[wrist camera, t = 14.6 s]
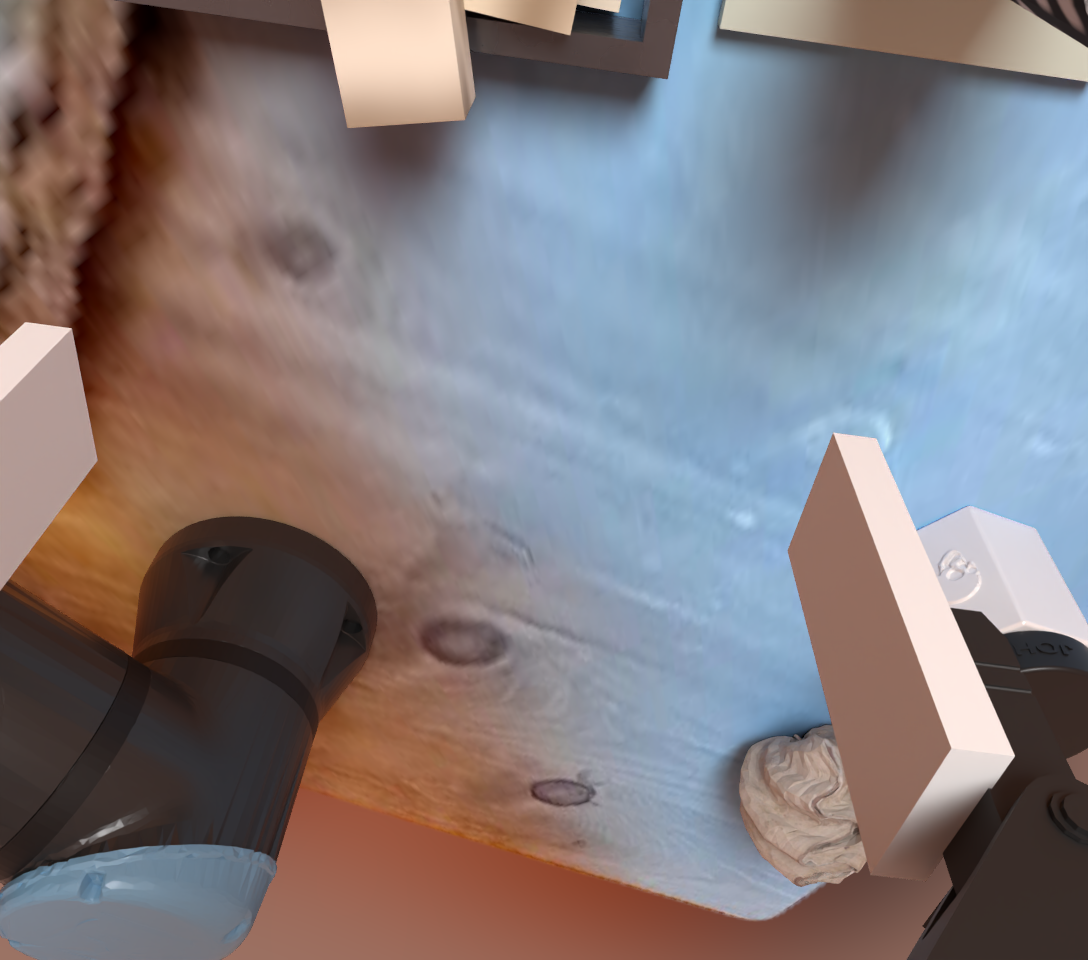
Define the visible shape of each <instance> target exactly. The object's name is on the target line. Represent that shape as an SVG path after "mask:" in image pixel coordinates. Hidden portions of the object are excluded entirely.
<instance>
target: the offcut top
mask: <svg viewBox="0 0 1088 960" xmlns="http://www.w3.org/2000/svg"><path fill="white" fill-rule="evenodd" d="M321 3H322V8H323V13H324V17H325V22H326V27H327V32H328V36H329V41H330V46H331V51H332V56H333V60H334V65H335V70H336V75H337V79H338V84H339V89H340V94H341V99H342V103H343V108H344V113H345V118H346V123H347V127H348V128H356V127H371V126H386V125H400V124H415V123H430V122H444V121H459V120H465V119H466V117H467V115H468V112H469V110H470V108H471V106H472V104H473V101H474V99H475V89H474V80H473V72H472V64H471V56H470V48H469V40H468V32H467V24H466V16H465V8H464V0H321Z"/></svg>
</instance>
